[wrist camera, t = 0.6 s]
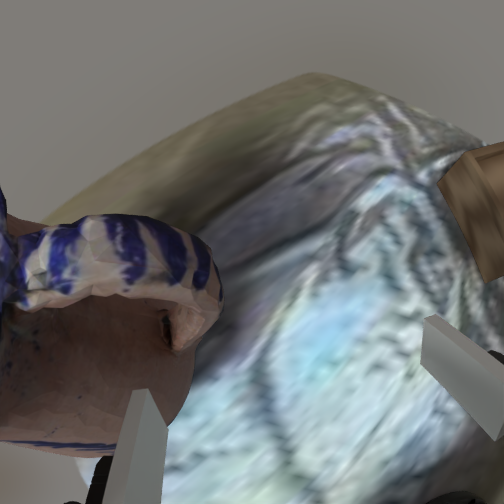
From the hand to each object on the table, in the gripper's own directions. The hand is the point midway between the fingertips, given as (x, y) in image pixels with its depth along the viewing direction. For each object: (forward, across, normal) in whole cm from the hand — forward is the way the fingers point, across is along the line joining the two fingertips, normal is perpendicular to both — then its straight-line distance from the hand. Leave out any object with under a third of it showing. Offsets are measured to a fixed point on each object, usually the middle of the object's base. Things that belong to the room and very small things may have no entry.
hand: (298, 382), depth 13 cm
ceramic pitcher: (+17, +13, +6) cm, 22 cm away
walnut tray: (+19, -33, +1) cm, 38 cm away
